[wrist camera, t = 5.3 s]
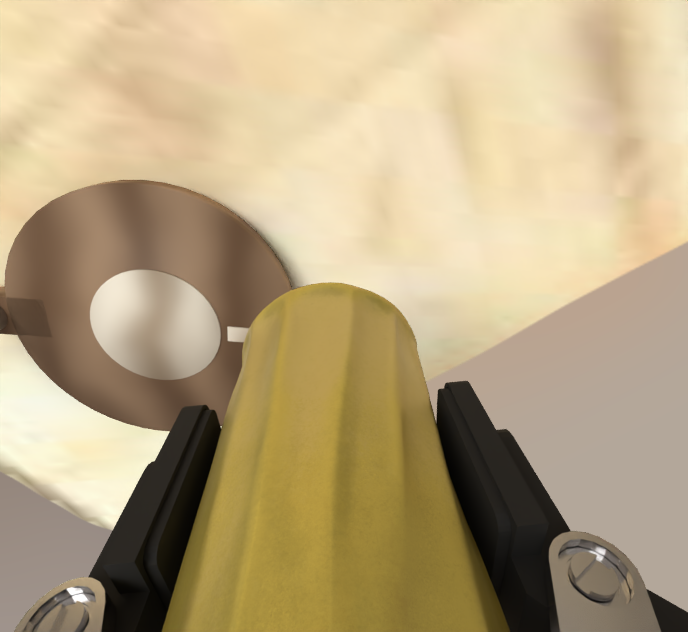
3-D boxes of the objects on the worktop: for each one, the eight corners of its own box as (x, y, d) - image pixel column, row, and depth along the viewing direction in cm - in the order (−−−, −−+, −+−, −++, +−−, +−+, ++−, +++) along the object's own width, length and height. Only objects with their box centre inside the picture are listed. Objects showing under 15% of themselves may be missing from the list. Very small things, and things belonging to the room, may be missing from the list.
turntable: (278, 169, 24) (260, 186, 18) (309, 410, 33) (305, 482, 27) (-77, 193, 24) (-232, 220, 17) (52, 429, 33) (-17, 506, 26)
